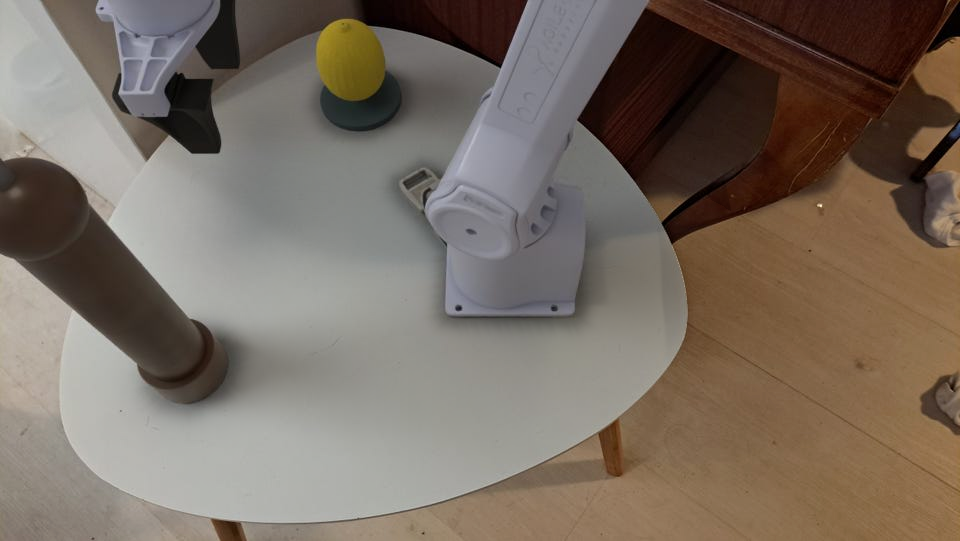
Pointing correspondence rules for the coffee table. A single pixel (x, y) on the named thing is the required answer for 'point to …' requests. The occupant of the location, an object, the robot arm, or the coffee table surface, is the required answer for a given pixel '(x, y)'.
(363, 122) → the coaster
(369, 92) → the lemon
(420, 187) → the strap clip
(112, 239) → the pepper mill
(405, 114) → the coffee table surface
